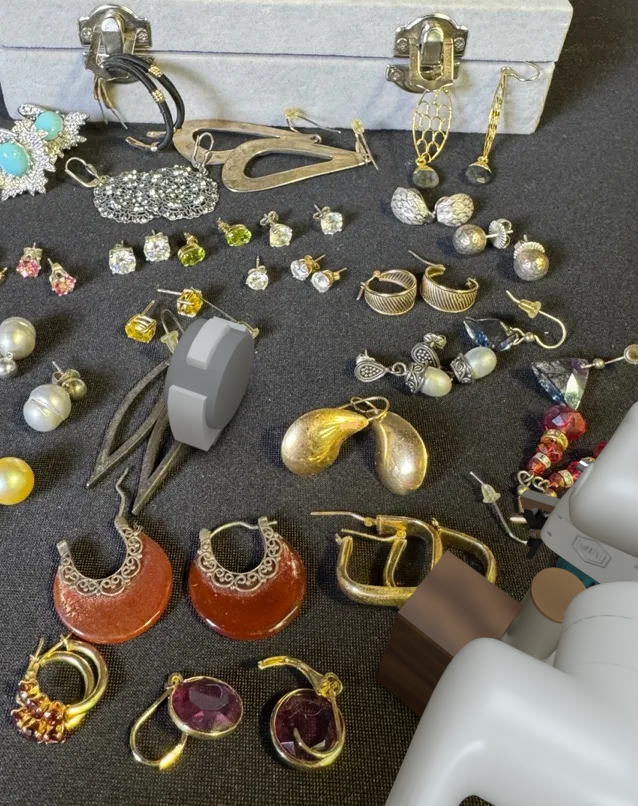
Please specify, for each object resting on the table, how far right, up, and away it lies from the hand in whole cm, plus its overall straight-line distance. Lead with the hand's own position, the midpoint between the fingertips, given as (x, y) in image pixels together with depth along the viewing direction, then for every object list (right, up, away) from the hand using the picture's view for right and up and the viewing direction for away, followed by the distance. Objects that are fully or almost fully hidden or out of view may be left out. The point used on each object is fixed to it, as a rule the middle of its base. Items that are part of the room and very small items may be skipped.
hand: (573, 576), depth 90 cm
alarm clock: (-43, +13, +44) cm, 63 cm away
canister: (0, -14, +16) cm, 22 cm away
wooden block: (-13, -18, +16) cm, 27 cm away
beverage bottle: (+10, -8, +26) cm, 29 cm away
